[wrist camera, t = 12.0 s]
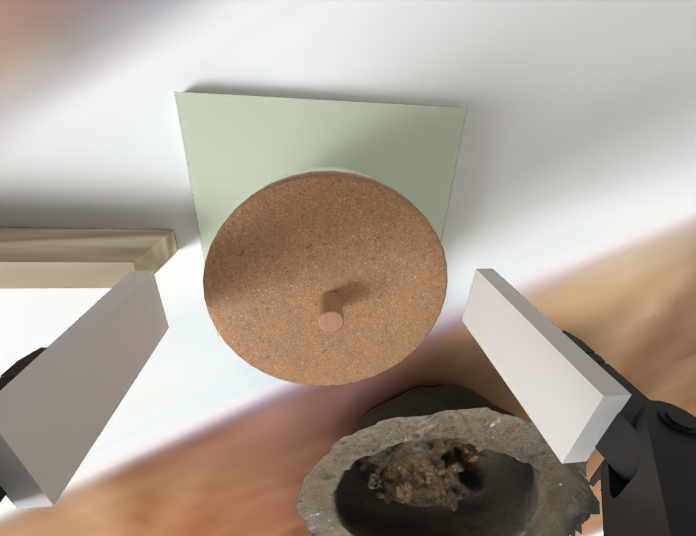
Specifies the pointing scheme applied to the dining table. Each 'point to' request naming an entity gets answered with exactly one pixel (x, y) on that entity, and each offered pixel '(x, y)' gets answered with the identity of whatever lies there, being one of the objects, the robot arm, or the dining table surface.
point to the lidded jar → (325, 277)
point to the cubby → (79, 256)
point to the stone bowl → (444, 474)
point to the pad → (314, 148)
